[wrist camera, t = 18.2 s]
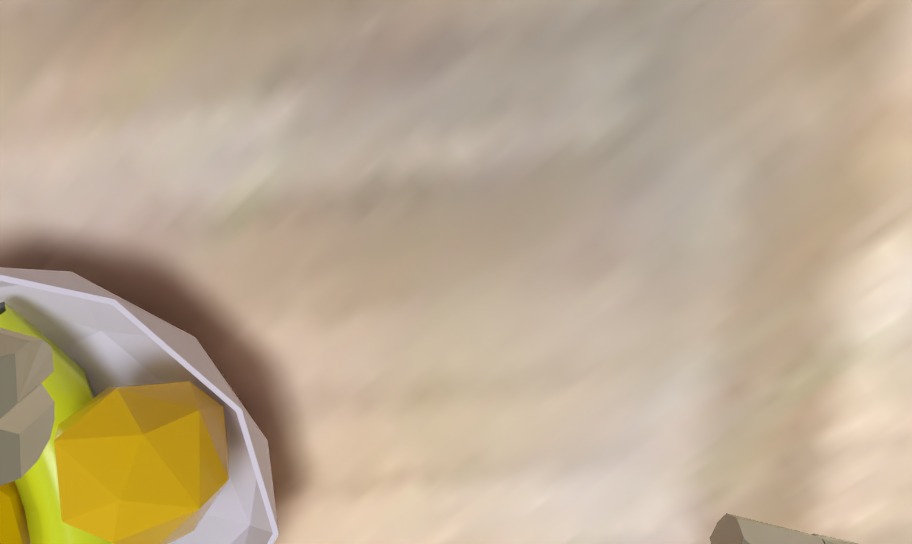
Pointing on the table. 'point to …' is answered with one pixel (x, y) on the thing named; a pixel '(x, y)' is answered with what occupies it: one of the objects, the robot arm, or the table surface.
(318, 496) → the table surface
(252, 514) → the fruit bowl
